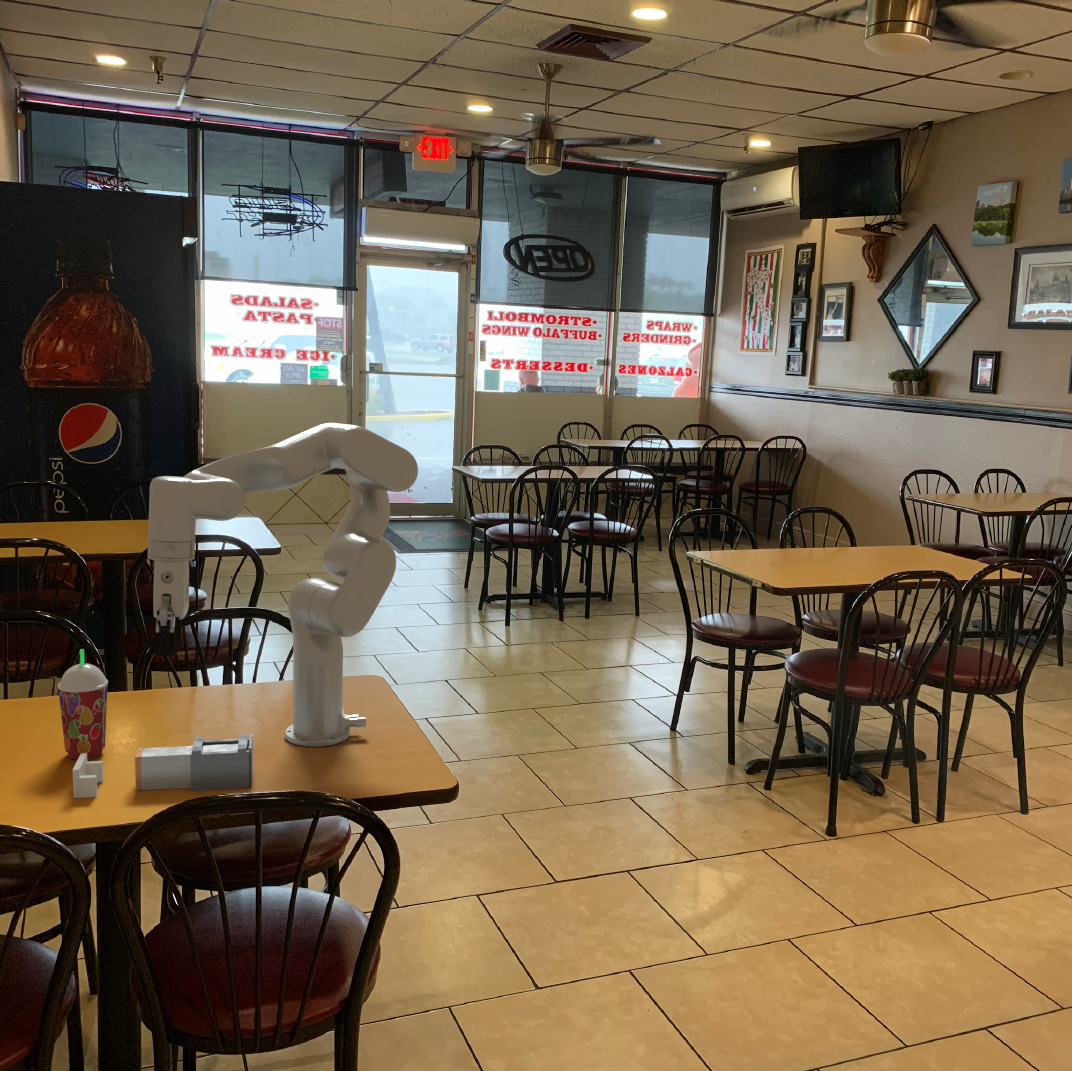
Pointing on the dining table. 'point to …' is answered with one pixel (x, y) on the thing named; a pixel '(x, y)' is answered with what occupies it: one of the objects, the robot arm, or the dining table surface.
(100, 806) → the dining table surface
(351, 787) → the dining table surface
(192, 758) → the sleeve
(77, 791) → the socket
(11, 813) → the dining table surface
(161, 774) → the grey two-tone block
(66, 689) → the smoothie
